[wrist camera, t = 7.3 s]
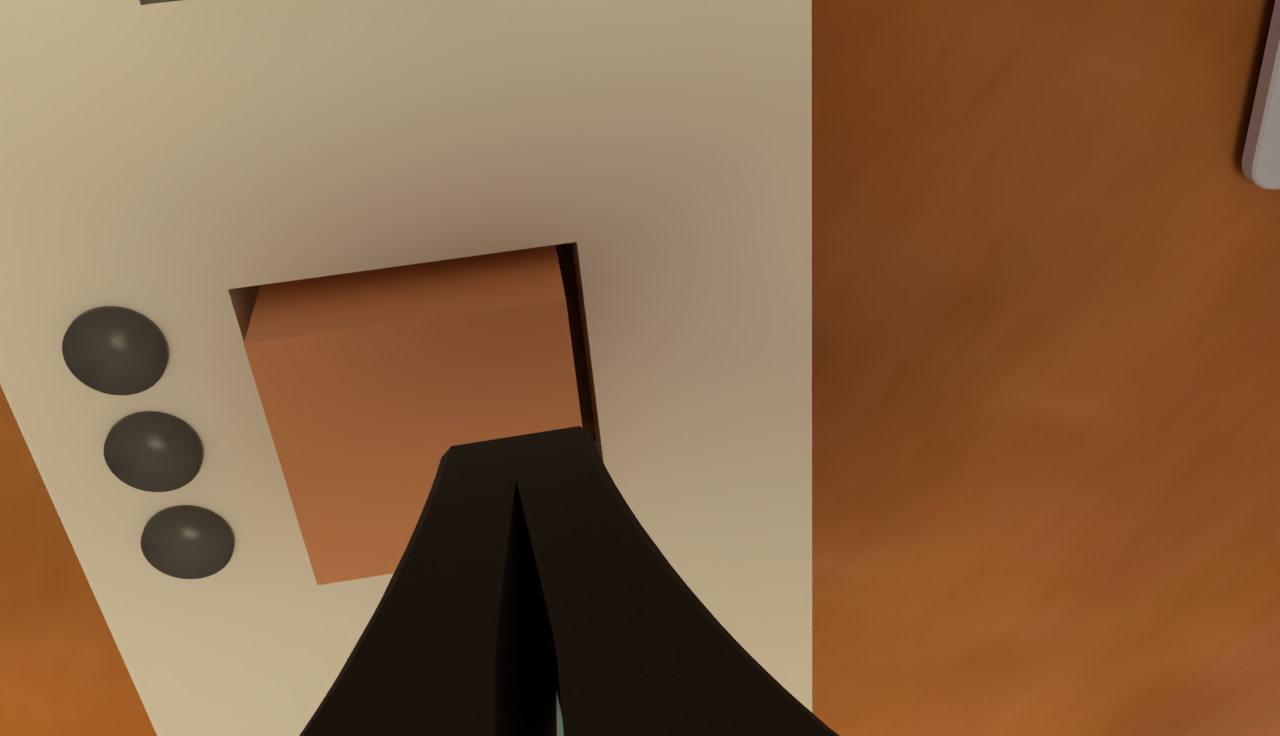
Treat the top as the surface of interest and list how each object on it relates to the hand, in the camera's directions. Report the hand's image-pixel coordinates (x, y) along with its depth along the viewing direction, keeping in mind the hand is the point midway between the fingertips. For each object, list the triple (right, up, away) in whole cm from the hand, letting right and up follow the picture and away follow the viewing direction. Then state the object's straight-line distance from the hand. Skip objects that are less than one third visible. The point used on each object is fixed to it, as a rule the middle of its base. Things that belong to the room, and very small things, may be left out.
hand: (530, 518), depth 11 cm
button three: (-2, +2, +8) cm, 9 cm away
